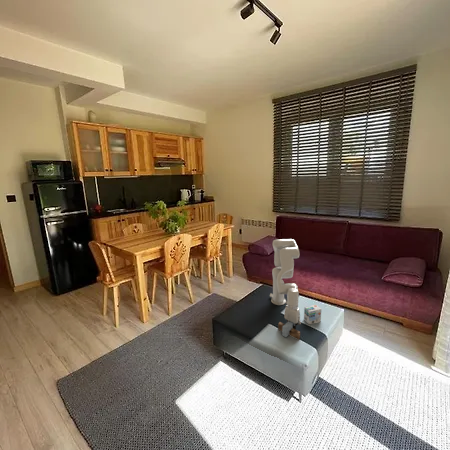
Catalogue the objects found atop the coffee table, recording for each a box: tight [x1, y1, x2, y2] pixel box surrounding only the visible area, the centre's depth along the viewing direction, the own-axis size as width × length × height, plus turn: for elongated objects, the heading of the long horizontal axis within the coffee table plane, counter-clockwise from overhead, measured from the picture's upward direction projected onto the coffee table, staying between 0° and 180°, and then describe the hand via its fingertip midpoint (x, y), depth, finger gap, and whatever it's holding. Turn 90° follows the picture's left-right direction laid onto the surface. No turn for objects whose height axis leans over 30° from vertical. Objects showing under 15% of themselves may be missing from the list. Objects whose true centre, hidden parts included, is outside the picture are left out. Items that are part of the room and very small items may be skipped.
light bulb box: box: [303, 304, 322, 325], centre depth 179 cm, size 11×7×11 cm, turn 105°
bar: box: [281, 321, 293, 338], centre depth 166 cm, size 3×12×7 cm, turn 134°
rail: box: [277, 321, 301, 341], centre depth 167 cm, size 16×2×5 cm, turn 44°
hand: (291, 328), depth 170 cm, fingers closed on bar, 3 cm apart
